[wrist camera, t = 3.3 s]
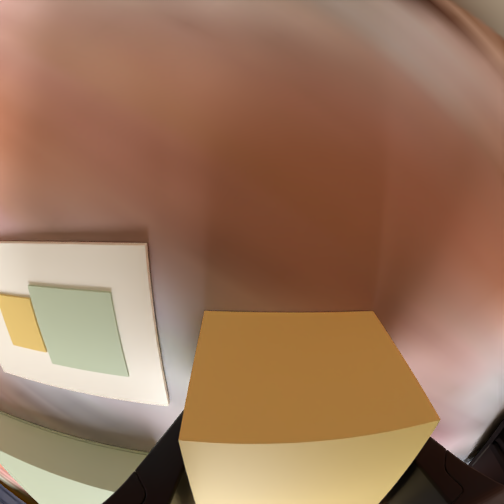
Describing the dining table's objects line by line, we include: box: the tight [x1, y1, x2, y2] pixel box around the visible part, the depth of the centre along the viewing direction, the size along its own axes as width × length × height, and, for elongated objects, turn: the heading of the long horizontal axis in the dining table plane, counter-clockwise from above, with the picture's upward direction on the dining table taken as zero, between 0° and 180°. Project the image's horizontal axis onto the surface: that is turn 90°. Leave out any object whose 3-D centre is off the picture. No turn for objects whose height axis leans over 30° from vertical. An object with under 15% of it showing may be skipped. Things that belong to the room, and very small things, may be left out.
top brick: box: [178, 311, 440, 504], centre depth 8 cm, size 5×6×4 cm
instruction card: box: [0, 241, 170, 406], centre depth 9 cm, size 8×6×1 cm
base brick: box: [0, 411, 149, 504], centre depth 12 cm, size 10×10×3 cm
